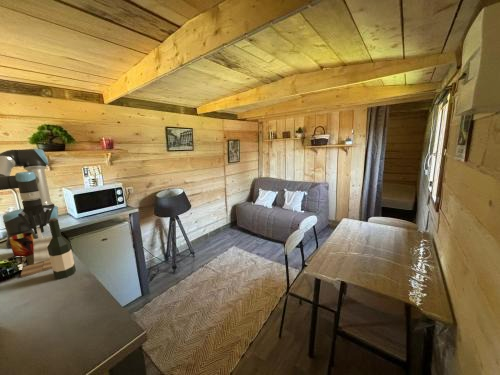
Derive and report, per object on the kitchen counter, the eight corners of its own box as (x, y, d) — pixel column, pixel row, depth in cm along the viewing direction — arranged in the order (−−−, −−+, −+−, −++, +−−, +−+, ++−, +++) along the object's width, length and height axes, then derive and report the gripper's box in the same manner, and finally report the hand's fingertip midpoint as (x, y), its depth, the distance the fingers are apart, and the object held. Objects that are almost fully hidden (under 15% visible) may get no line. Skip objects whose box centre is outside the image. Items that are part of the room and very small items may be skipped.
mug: (35, 256, 127) (30, 238, 124) (9, 258, 125) (3, 240, 123) (48, 248, 136) (43, 231, 134) (24, 250, 134) (19, 233, 132)
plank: (33, 241, 127) (33, 239, 126) (51, 237, 132) (51, 235, 131) (34, 265, 117) (34, 263, 116) (54, 259, 122) (53, 258, 121)
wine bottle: (53, 274, 108) (40, 219, 102) (74, 267, 114) (62, 214, 108) (55, 281, 102) (41, 223, 96) (77, 273, 108) (65, 218, 102)
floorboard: (24, 268, 114) (23, 266, 114) (63, 257, 124) (62, 255, 124) (21, 277, 106) (20, 275, 106) (63, 265, 116) (62, 262, 116)
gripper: (13, 202, 112) (24, 243, 116) (46, 198, 120) (55, 236, 125) (15, 200, 117) (25, 239, 122) (47, 196, 126) (56, 233, 130)
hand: (40, 238), depth 123 cm, fingers closed
